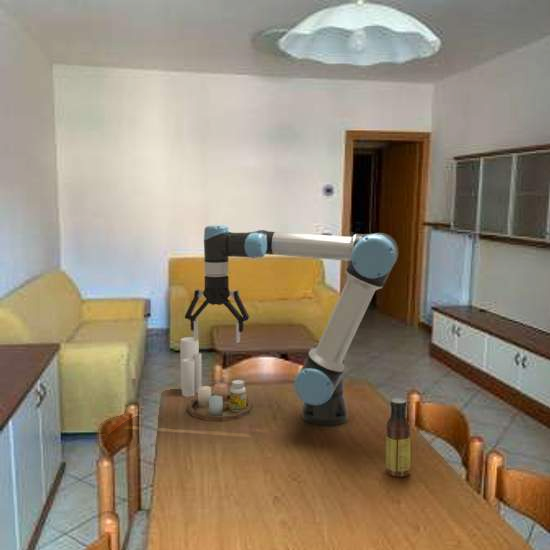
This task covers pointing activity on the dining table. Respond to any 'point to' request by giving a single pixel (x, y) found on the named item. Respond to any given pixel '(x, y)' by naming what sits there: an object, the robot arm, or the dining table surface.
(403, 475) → the sauce bottle
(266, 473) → the dining table surface
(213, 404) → the loose bead
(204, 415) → the tray
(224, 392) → the seated bead terracotta
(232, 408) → the supplement bottle
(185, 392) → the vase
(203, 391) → the seated bead cream
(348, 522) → the dining table surface
